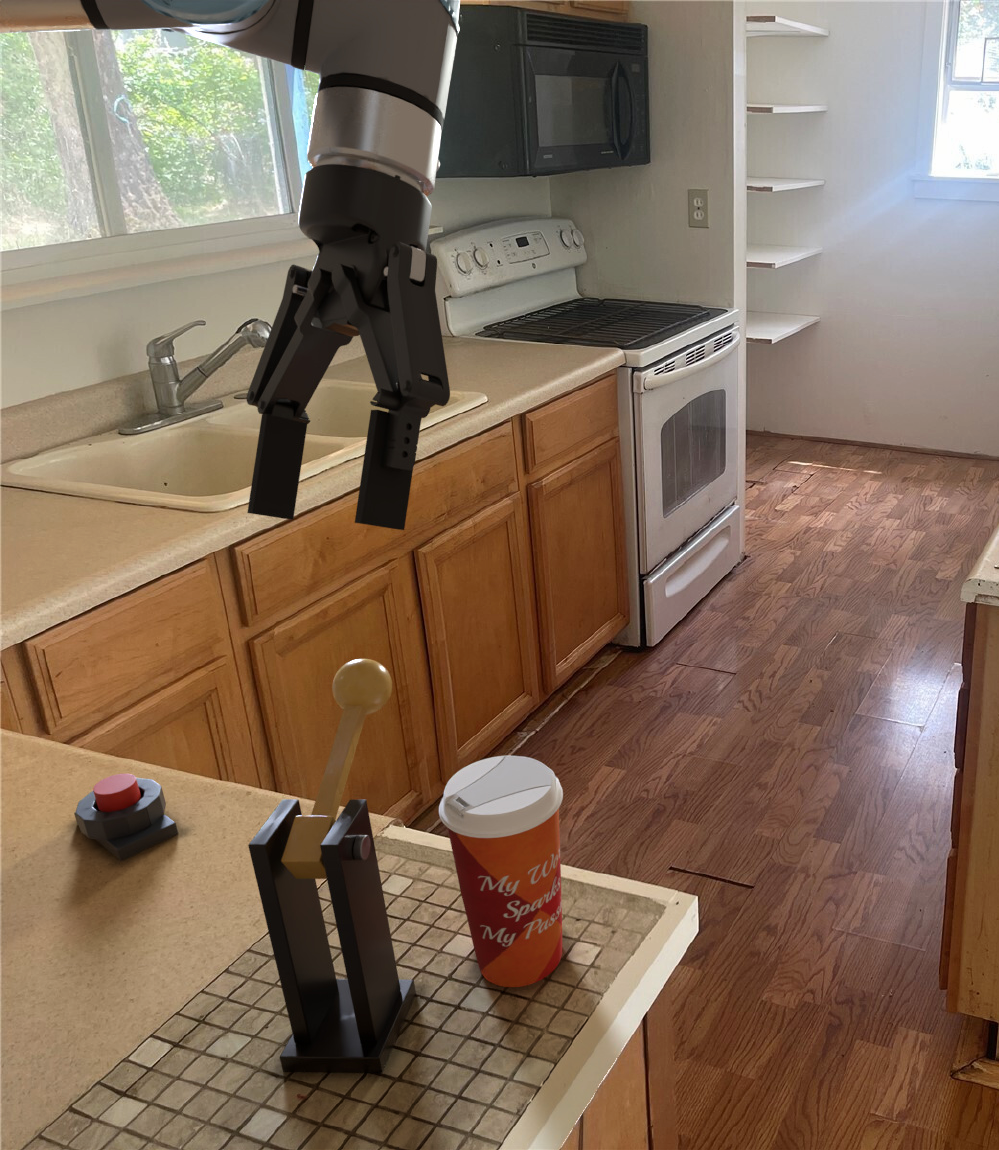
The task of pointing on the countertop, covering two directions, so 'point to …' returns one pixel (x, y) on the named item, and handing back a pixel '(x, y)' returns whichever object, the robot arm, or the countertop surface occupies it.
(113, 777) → the set button
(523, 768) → the paper cup
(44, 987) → the countertop surface
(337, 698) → the lever
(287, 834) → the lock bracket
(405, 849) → the countertop surface
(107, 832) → the button base
